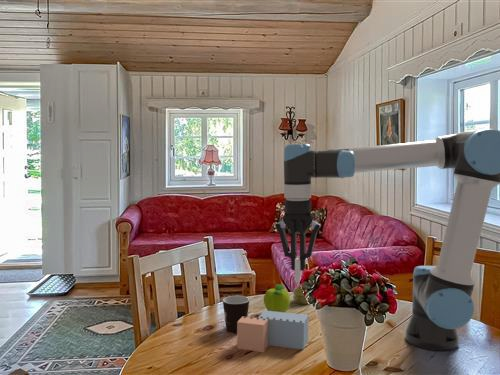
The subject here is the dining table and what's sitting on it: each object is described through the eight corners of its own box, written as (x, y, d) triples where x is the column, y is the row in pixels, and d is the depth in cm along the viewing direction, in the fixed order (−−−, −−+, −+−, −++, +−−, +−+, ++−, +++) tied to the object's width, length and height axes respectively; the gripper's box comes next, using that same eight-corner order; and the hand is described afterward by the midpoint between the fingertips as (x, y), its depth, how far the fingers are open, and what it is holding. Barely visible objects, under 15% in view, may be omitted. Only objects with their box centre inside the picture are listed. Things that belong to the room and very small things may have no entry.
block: (268, 345, 146) (268, 318, 145) (263, 352, 141) (263, 324, 140) (242, 341, 148) (242, 315, 147) (237, 348, 143) (237, 321, 142)
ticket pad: (308, 340, 149) (308, 314, 149) (303, 349, 143) (303, 322, 142) (264, 335, 153) (264, 309, 153) (257, 343, 147) (257, 317, 146)
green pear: (288, 301, 186) (289, 276, 185) (301, 297, 191) (302, 272, 191) (303, 306, 181) (303, 279, 180) (316, 301, 186) (316, 276, 185)
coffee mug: (246, 335, 153) (246, 304, 152) (219, 333, 155) (219, 303, 154) (253, 322, 164) (253, 293, 163) (228, 320, 166) (228, 292, 165)
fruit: (291, 310, 176) (291, 283, 175) (287, 319, 167) (287, 291, 166) (266, 308, 178) (266, 281, 177) (261, 317, 169) (261, 289, 168)
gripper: (322, 197, 139) (323, 279, 141) (278, 197, 143) (279, 276, 145) (318, 200, 132) (319, 286, 134) (272, 200, 135) (273, 283, 137)
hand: (298, 281), depth 139 cm, fingers closed
